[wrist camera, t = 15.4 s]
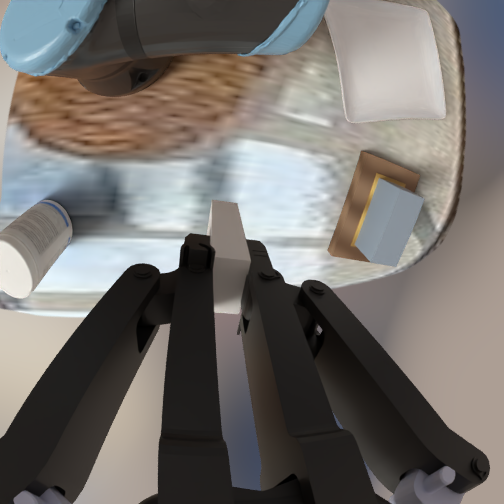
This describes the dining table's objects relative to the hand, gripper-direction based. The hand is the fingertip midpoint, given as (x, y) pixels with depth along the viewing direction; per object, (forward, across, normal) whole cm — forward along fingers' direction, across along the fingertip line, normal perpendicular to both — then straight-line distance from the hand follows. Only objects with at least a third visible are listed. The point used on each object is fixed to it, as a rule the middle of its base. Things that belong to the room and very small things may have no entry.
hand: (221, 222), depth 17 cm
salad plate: (+25, +22, +22) cm, 40 cm away
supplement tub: (+24, -27, -14) cm, 39 cm away
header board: (+24, +27, -4) cm, 37 cm away
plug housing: (+22, +27, -4) cm, 35 cm away
